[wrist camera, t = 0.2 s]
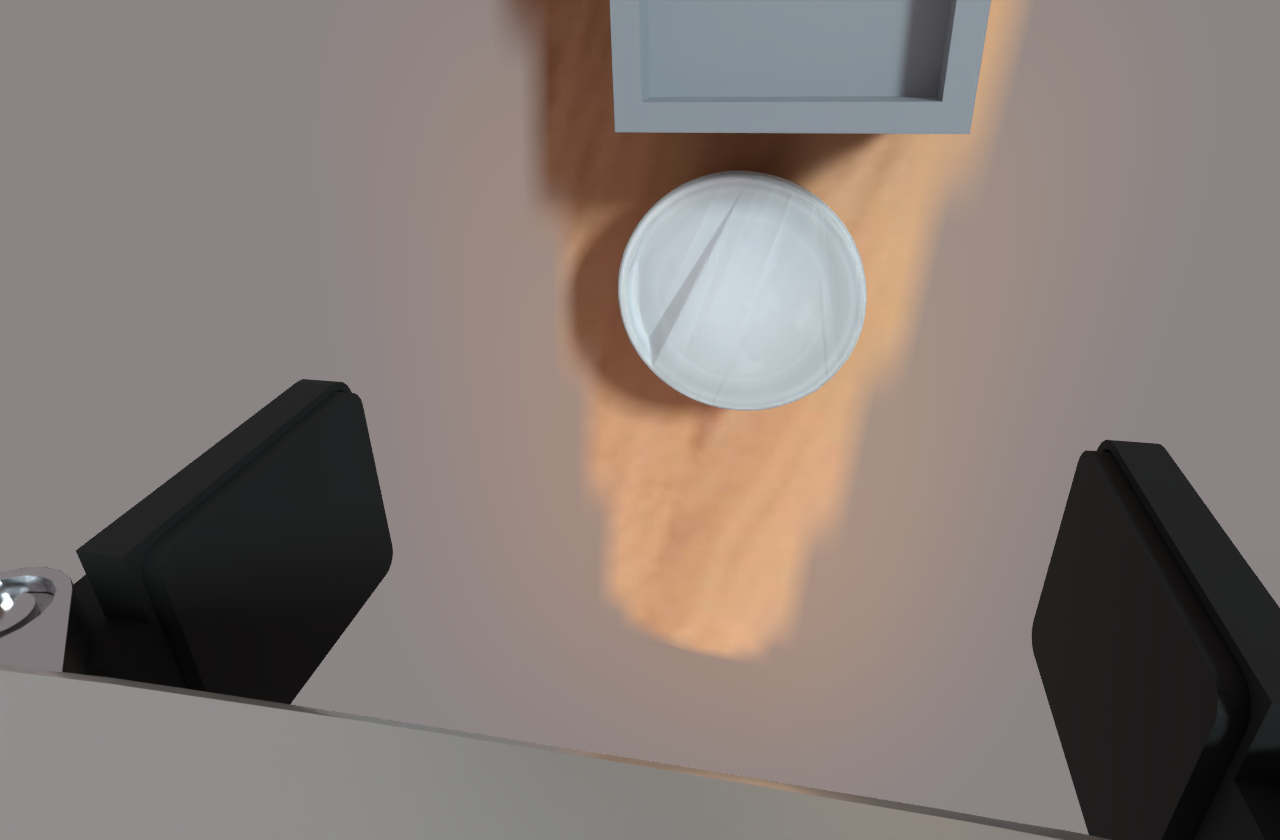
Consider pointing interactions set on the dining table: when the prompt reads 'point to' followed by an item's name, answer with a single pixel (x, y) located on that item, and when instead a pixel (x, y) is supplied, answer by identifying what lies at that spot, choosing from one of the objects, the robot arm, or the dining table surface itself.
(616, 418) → the dining table surface
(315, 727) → the robot arm
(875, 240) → the dining table surface
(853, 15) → the tower top block
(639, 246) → the ramekin
